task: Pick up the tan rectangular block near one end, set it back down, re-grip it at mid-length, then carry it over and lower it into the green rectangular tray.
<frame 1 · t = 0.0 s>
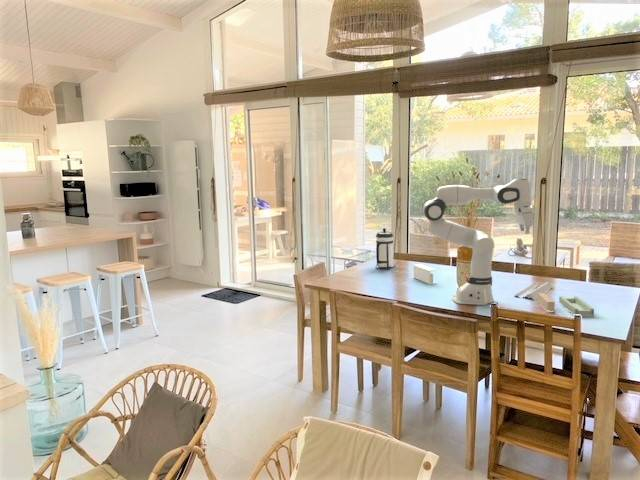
hand: (524, 232, 267), 39 cm above the table, tool pointing down, fingers open, 8 cm apart
tan rectangular block: (545, 308, 259), on the table
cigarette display: (424, 280, 324), on the table
green rectangular tray: (575, 309, 254), on the table
crown molding: (534, 293, 288), on the table
coffee press: (384, 268, 364), on the table
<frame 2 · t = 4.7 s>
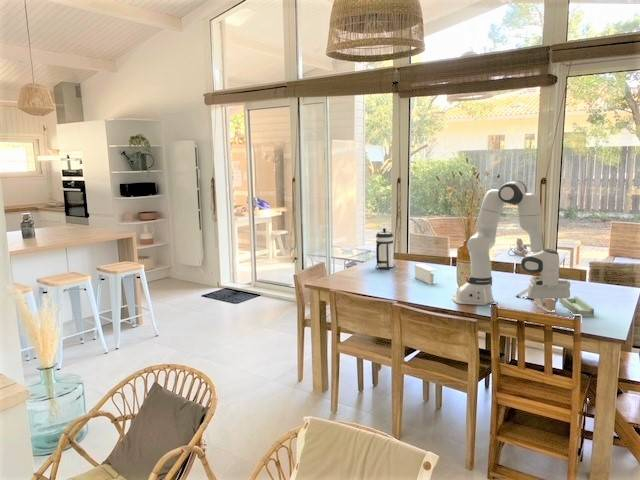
hand: (548, 305, 255), 2 cm above the table, tool pointing down, fingers closed on tan rectangular block, 4 cm apart
tan rectangular block: (544, 307, 259), on the table, touching gripper
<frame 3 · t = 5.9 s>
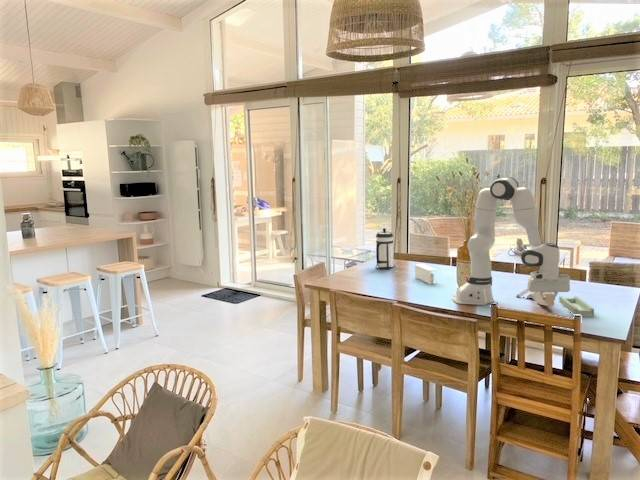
hand: (547, 299, 254), 6 cm above the table, tool pointing down, fingers closed on tan rectangular block, 3 cm apart
tan rectangular block: (545, 304, 258), point 2 cm above the table, tilted 14°, touching gripper
when the fingers open (3 cm above the table, at t = 7.0 s): tan rectangular block stays where it is, on the table.
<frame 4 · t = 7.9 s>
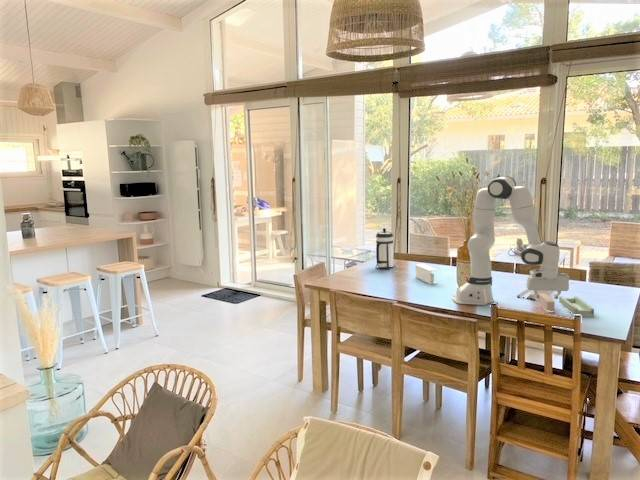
hand: (546, 298, 254), 6 cm above the table, tool pointing down, fingers open, 8 cm apart
tan rectangular block: (545, 308, 259), on the table
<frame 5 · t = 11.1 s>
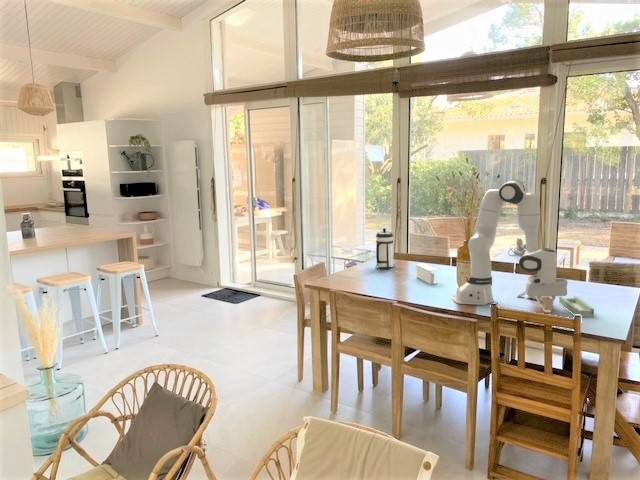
hand: (545, 303, 259), 2 cm above the table, tool pointing down, fingers closed on tan rectangular block, 4 cm apart
tan rectangular block: (545, 308, 259), on the table, touching gripper
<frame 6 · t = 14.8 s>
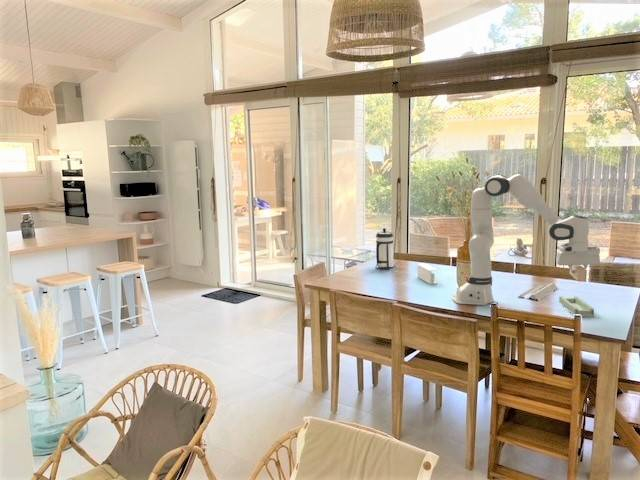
hand: (577, 273, 251), 20 cm above the table, tool pointing down, fingers closed on tan rectangular block, 4 cm apart
tan rectangular block: (577, 277, 251), point 17 cm above the table, touching gripper
when the fingers open (5 cm above the table, at t = 17.8 s): tan rectangular block drops 2 cm, resting on green rectangular tray.
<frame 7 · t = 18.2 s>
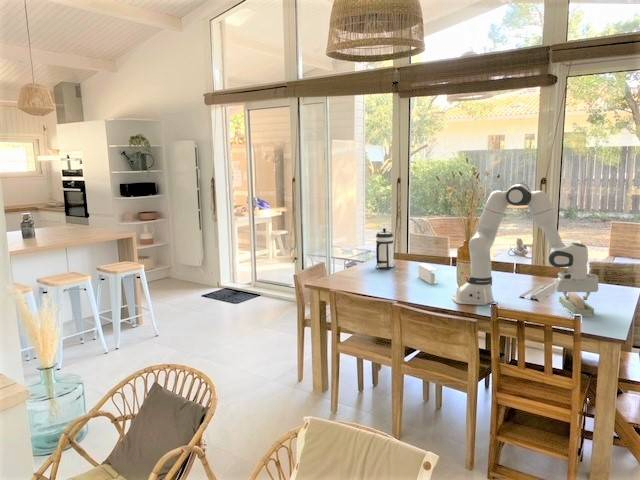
hand: (576, 299, 253), 5 cm above the table, tool pointing down, fingers open, 8 cm apart
tan rectangular block: (575, 307, 254), point 1 cm above the table, touching green rectangular tray
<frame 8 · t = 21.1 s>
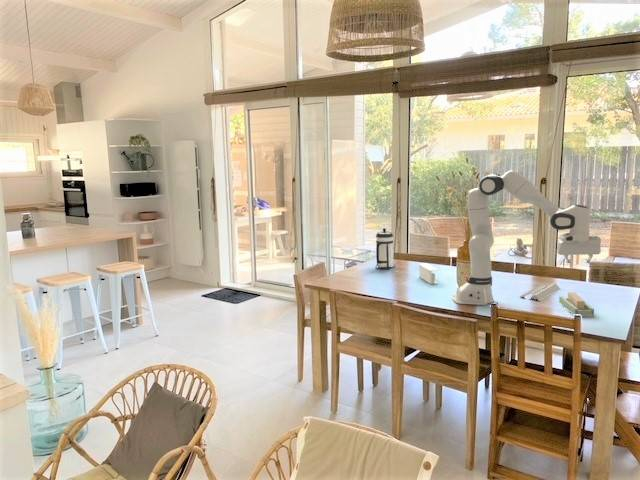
hand: (578, 262, 250), 25 cm above the table, tool pointing down, fingers open, 8 cm apart
at the end: tan rectangular block inside the target area on the green rectangular tray (0.1 cm from its centre), point 1.0 cm above the green rectangular tray's base; tan rectangular block tilted 0°; the gripper is holding nothing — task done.
